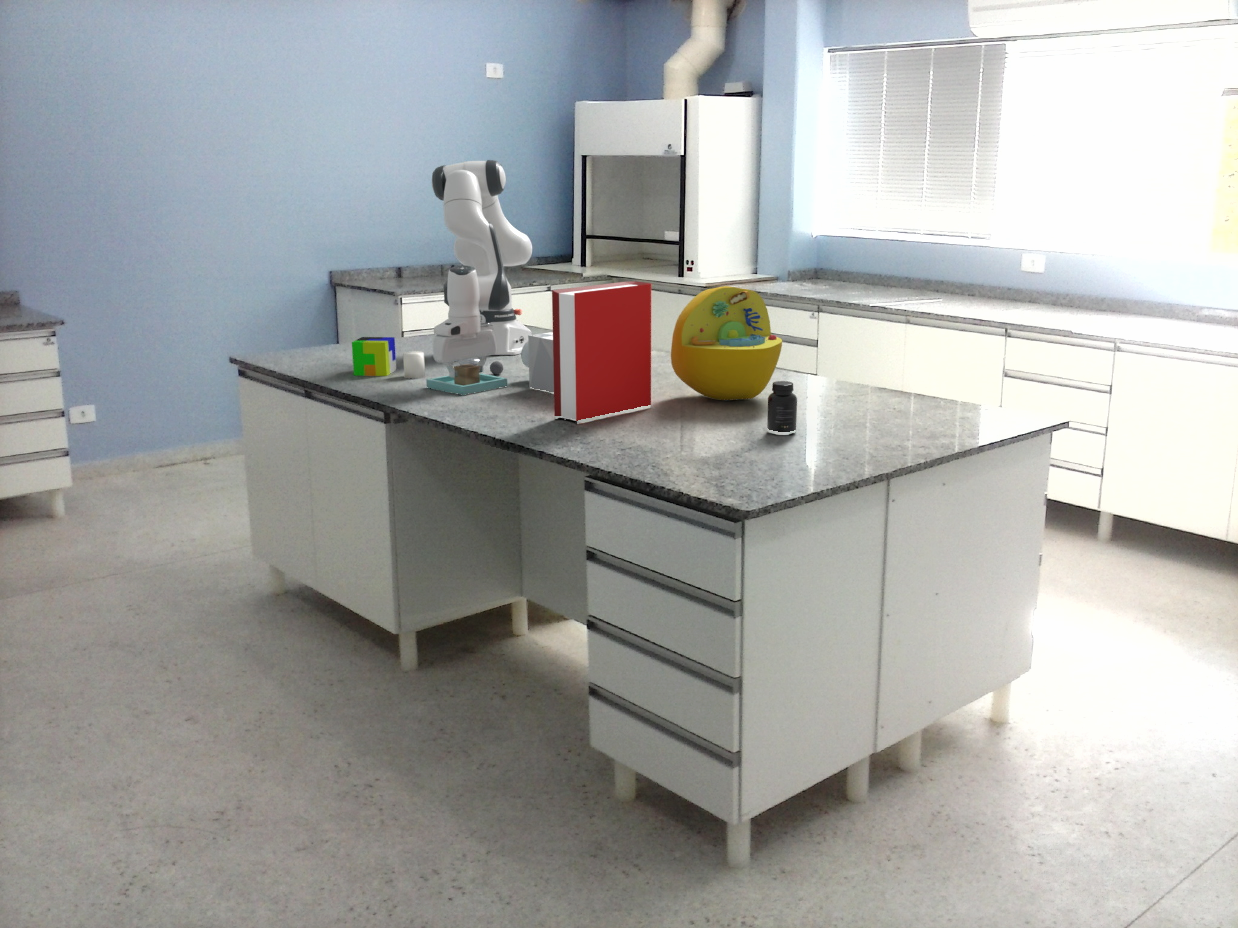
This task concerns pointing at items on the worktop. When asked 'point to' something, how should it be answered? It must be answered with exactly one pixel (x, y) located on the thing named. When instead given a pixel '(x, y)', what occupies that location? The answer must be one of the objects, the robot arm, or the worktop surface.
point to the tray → (448, 385)
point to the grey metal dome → (470, 361)
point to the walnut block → (466, 374)
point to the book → (601, 349)
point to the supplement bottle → (782, 407)
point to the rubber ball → (496, 368)
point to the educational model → (725, 344)
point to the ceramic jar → (414, 364)
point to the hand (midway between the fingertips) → (466, 374)
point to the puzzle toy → (374, 356)
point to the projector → (539, 361)
